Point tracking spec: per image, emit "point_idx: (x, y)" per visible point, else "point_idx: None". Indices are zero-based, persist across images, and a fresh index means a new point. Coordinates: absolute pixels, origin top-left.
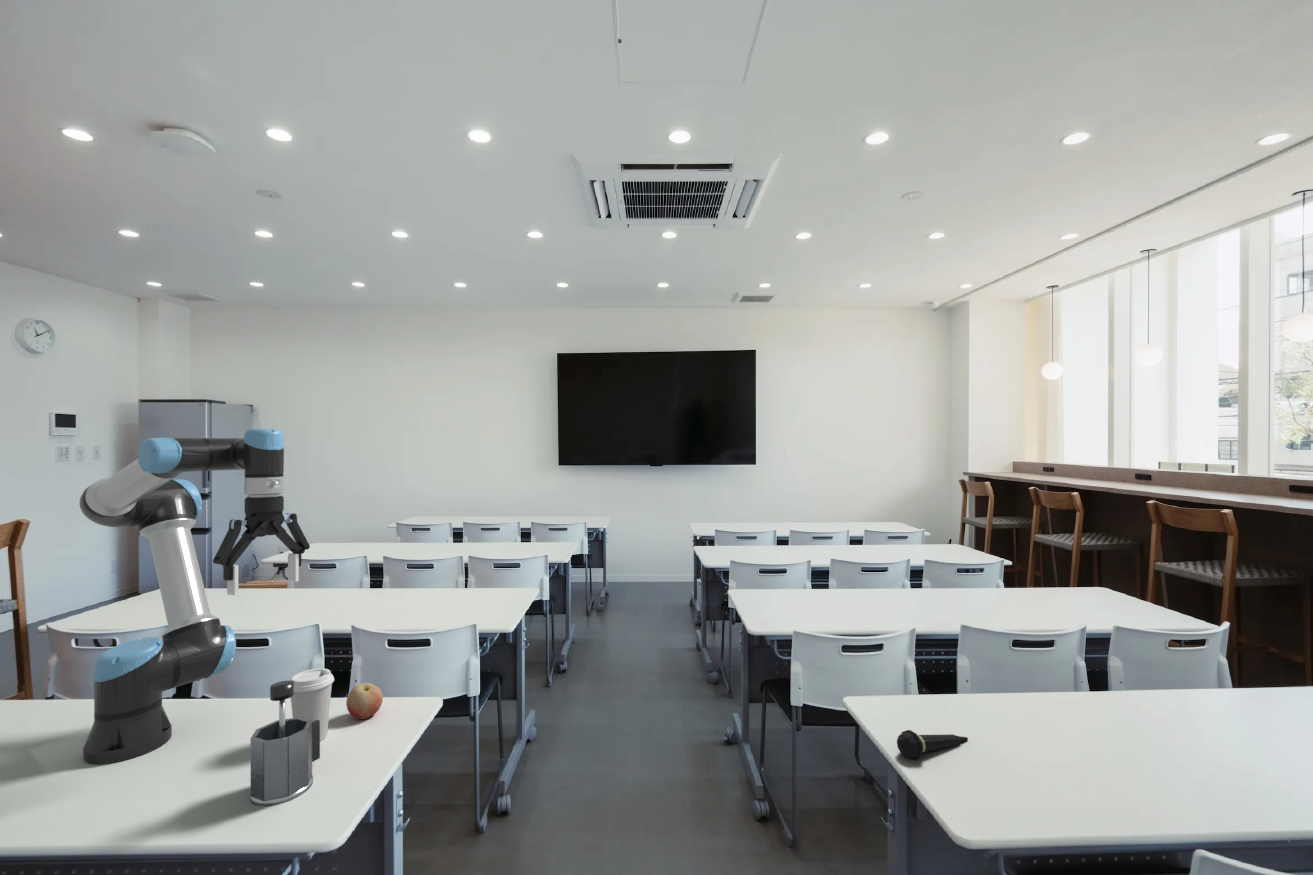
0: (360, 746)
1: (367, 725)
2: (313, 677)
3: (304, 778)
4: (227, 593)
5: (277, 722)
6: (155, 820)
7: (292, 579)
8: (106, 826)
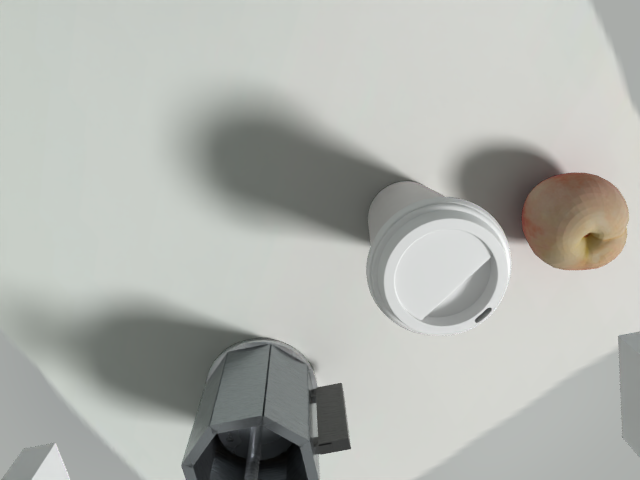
0: (446, 354)
1: (520, 268)
2: (441, 298)
3: None
4: (21, 456)
5: (261, 423)
6: (63, 303)
7: (632, 404)
8: None
